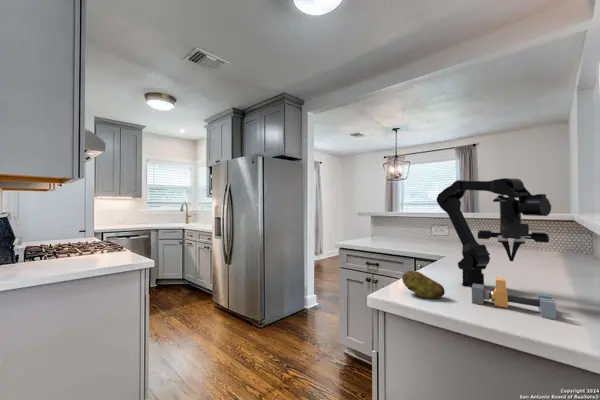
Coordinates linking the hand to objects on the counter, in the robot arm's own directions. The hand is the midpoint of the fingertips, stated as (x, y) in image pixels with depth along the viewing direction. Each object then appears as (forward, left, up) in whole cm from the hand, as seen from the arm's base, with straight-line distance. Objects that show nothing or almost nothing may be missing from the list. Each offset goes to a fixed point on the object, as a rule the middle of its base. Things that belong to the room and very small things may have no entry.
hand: (511, 261), depth 93 cm
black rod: (-1, -12, -11) cm, 16 cm away
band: (-5, -12, -12) cm, 18 cm away
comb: (+7, -12, -12) cm, 19 cm away
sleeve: (-3, -12, -12) cm, 17 cm away
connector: (-9, -12, -12) cm, 19 cm away
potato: (-25, -16, -12) cm, 32 cm away
